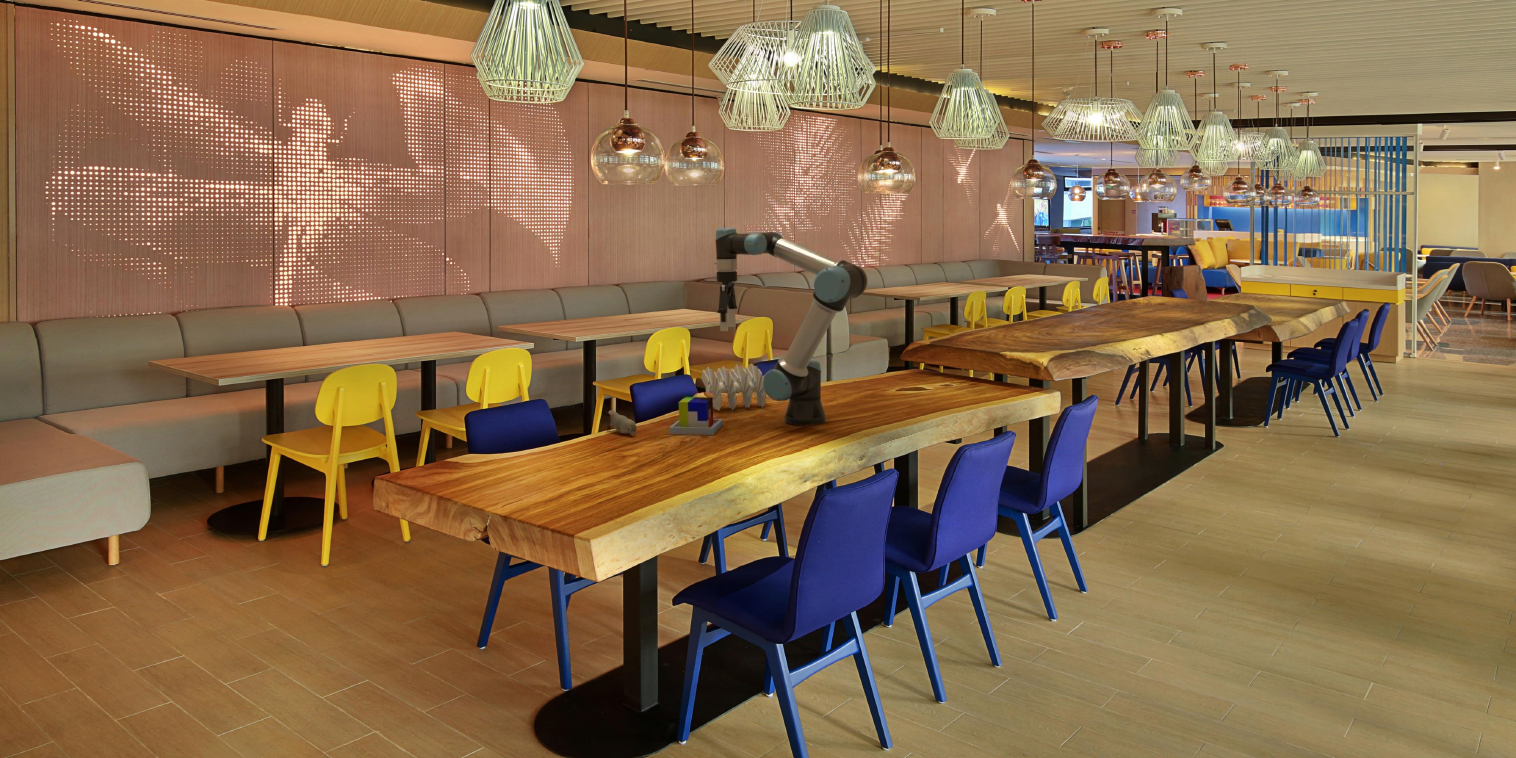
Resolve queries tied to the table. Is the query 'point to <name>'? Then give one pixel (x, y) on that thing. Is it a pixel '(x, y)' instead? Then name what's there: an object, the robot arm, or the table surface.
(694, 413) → the puzzle toy
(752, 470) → the table surface
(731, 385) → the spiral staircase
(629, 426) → the decorative bird
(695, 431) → the tray
